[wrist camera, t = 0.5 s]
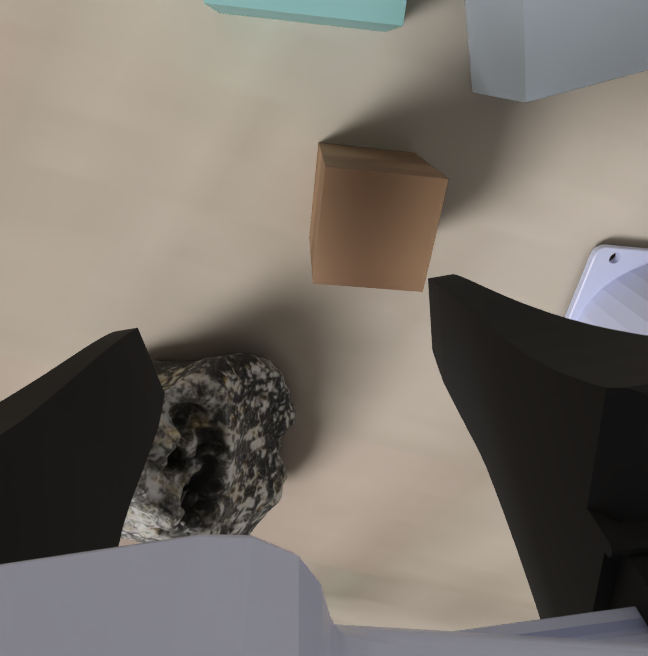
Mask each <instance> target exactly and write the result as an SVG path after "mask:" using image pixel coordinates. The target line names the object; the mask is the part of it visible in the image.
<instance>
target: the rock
mask: <svg viewBox="0 0 648 656" xmlns="http://www.w3.org/2000/svg"><path fill="white" fill-rule="evenodd" d="M152 363H153V366H154V368H155V371H156V373H157V375H158V378H159V380H160V383H161V385H162V387H163V390H164V392H165V397H164V403H163V408H162V414H161V418H160V423H159V427H158V430H157V433H156V436H155V439H154V442H153V444H152V447H151V450H150V453H149V455H148V458H147V461H146V463H145V466H144V469H143V471H142V474H141V477H140V479H139V482H138V485H137V487H136V490H135V493H134V495H133V498H132V501H131V503H130V506H129V509H128V513H127V516H126V519H125V522H124V525H123V529H122V533H121V537H120V538H124V539H131V540H134V541H137V542H141V543H146V542H153V541H159V540H166V539H173V538H180V537H186V536H193V535H200V534H218V535H250V533H251V532H252V530H253V529H254V528H255V526H256V525H257V524H258V523H259V522H260V521H261V520H262V518H263V517H264V516H265V515H266V513H267V512H268V511H269V510H270V509H271V508H273V507H274V506H275V505H276V504H277V503H278V502H279V501H280V499H281V497H282V488H283V483H284V482H285V480H286V478H287V469H288V468H287V467H286V466H285V465H284V463H283V461H282V459H281V458H280V456H279V455H278V453H279V449H280V448H281V446H282V444H281V443H280V442H279V439H280V438H281V437H282V436H283V435H284V434H285V433H286V430H287V428H288V427H289V426H291V425H292V424H294V423H295V422H296V412H295V406H294V404H291V403H290V402H289V398H290V390H289V389H288V387H287V386H286V384H285V382H284V377H283V375H282V373H281V371H280V370H279V369H277V368H276V367H274V366H273V364H272V363H271V361H270V360H269V359H266V358H263V357H259V356H255V355H252V354H246V353H231V354H226V355H221V356H215V357H206V358H204V359H201V360H199V361H186V362H172V361H159V360H153V361H152Z"/></svg>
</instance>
